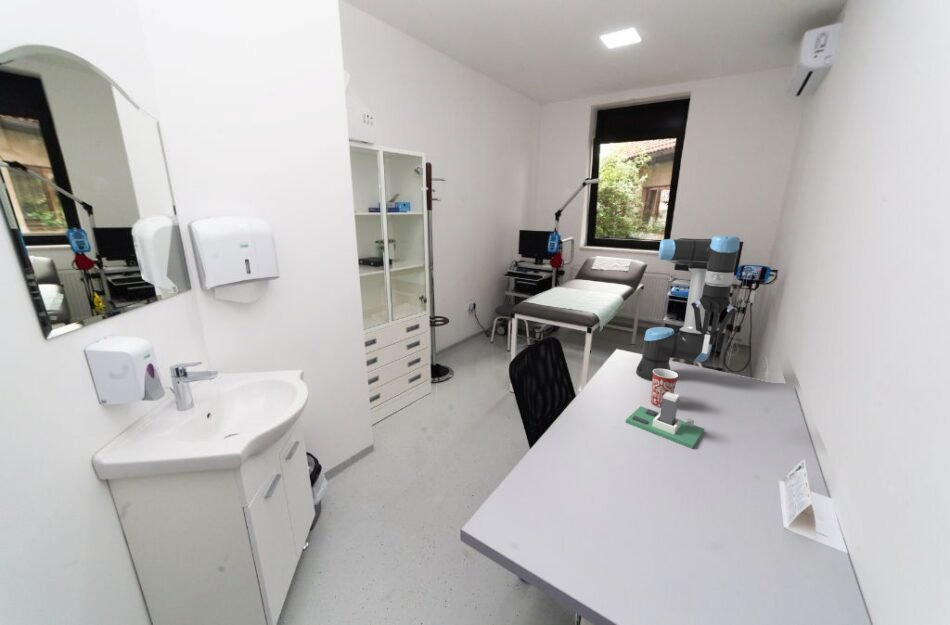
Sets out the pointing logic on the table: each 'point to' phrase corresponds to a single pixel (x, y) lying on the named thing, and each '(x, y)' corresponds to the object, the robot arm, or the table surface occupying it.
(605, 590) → the table surface
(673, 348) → the robot arm
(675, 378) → the mug
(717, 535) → the table surface
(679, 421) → the board
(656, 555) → the table surface
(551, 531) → the table surface
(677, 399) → the plug
